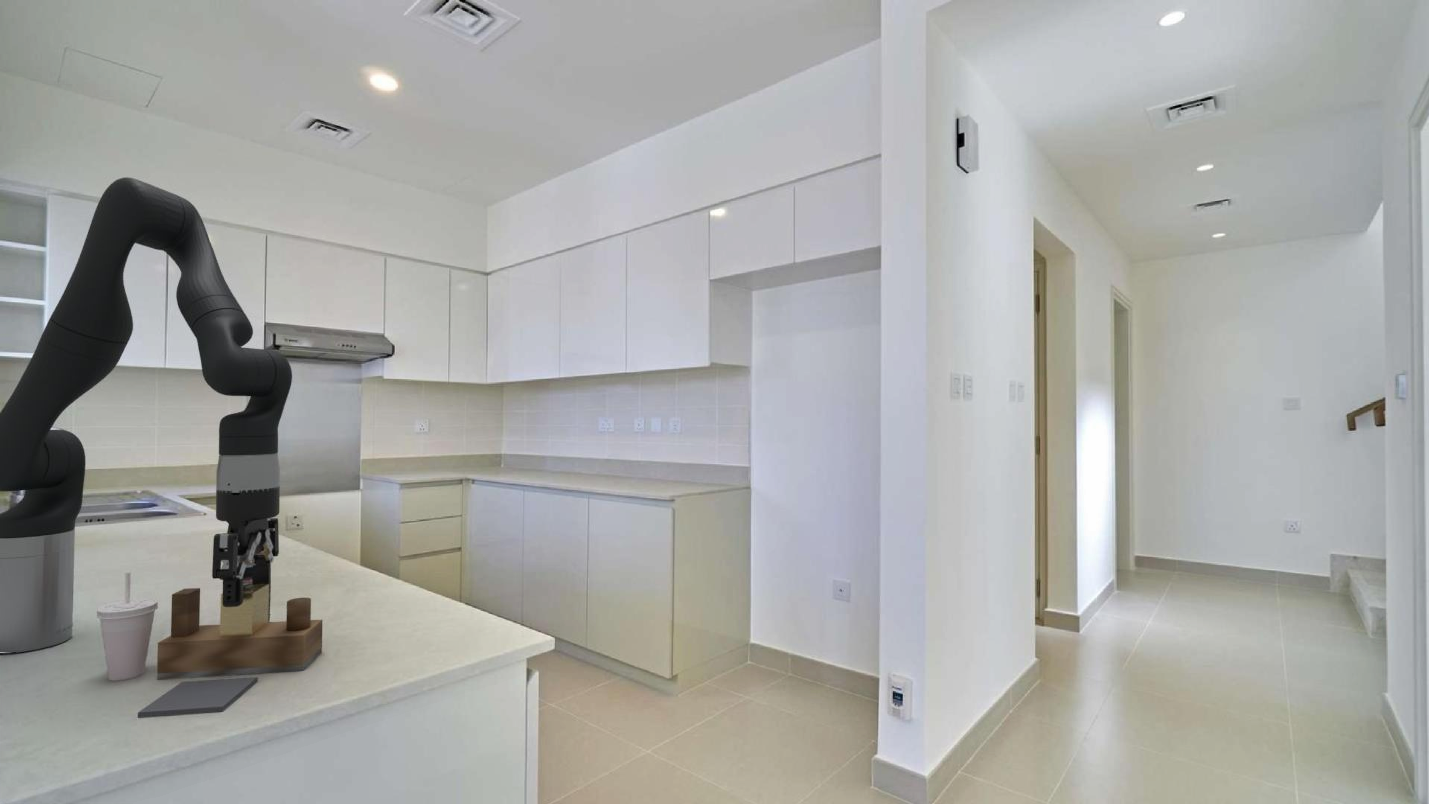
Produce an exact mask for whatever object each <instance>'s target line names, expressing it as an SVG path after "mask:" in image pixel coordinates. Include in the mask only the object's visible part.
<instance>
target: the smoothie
mask: <svg viewBox="0 0 1429 804" xmlns="http://www.w3.org/2000/svg"><path fill="white" fill-rule="evenodd" d="M124 574H125V577H124V578H125V580H124V600H120V601H115V602H111V603H108V604H104V605H102V606H100V607H99V608H97V611H96V618H97V619H99V621H100V630H101V636H102V643H103V650H104V656H105V664H106V672H107V679H108V680H109V681H123V680H129V679H134V678H136V677H139V676H141V675H144V673H145V669H146V663H147V659H148V658H147V656H148V652H149V646H150V641H151V635H152V630H153V622H154V618H155V611H157V610H158V609H159V605H158V603H159V602H158V600H157V599H153V598H134V599H131V581H132V580H131V577H132V576H131V572H125V573H124Z"/></svg>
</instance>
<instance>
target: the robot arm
mask: <svg viewBox="0 0 1429 804" xmlns="http://www.w3.org/2000/svg"><path fill="white" fill-rule="evenodd" d="M136 244H137V245H140V246H143V247H147V248H150V249H154V250H158V251H162V252H164V253H166V255H168V256H169V257H170V259H172V261H173V262H174V263H175V264H176V266H177V268H178V269H179V270H180V278H179V280H178V283H177V287H176V291H175V292H176V293H175V298H176V303H177V307H178V309H179V312H180V314H181V316H182V317H183V319H184V321H185V322H186V324H187V326H188V327H189V329H190V331H191V332H192V334H193V336H194V337H195V339H196V342H197V347H198V354H199V359H200V365H201V372H202V376H203V379H204V381H205V383H206V384H207V386H209V387H210V388H211V389H212V390H213V391H214V392H216V393H218V394H220V395H223V396H228V397H249V400H248V402H247V405H246V406H245V408H244V410H241V411H238V412H234V413H231V414H227V415H224V416H223V417H222V418H221V419H220V421H219V427H218V461H217V466H216V478H215V480H216V487H215V518H216V519H217V520H218V521H219V522H226V523H227V524H228V525H227V531H226V532H225V533H215V534H214V536H213V542H212V543H213V544H212V569H211V570H212V571H211V572H212V573H211V578H212V579H214V580H215V579H219V580H220V581H222V593H223V606H224V607H237V606H239V605H241V604H242V603H243V578H242V577H243V574H244V571H245V568H246V565H248V564H250V563H251V562H252V563H253V564H256V565H253V566H252V584H269V588H270V586H271V587H272V584H271V582H272V581H271V580H272V578H271V576H272V575H271V573H272V569H271V568H272V567H271V566H272V564H273V562H274V560H275V557H278V556H279V554H280V547H279V545H280V543H279V541H280V540H279V519H278V518H277V516H279V514H280V500H281V499H280V494H281V492H280V491H281V489H280V486H281V484H280V482H281V479H280V478H281V475H280V474H281V472H280V471H281V469H280V468H281V467H280V461H279V454H278V452H279V425H280V421H281V418H282V416H283V413H284V410H285V406H286V403H287V401H288V400H287V399H288V396H289V393H290V390H291V387H292V382H293V370H292V367H291V365H290V362H289V361H288V358H287V357H286V356H285V355H284V354H283V353H281V352H279V351H277V350H273V349H265V348H263V349H262V348H261V349H260V348H254V347H253V348H252V347H243V346H245V345H247V344H248V343H249V342H250V341H251V339H252V338H253V334H254V328H253V326H252V323H251V321H250V320H249V318H248V316H247V315H246V313H245V311H244V310H243V308H242V306H241V304H240V303H239V302H238V300H237V298H236V297H235V295H234V294H233V292H232V290H231V289H230V286H229V285H228V283H227V281H226V279H225V277H224V275H223V272H222V271H221V268H220V265H219V262H218V259H217V257H216V253H215V250H214V248H213V246H212V242H211V240H210V237H209V234H208V231H207V228H206V227H205V224H204V221H203V219H202V217H201V214H200V213H199V211H198V209H197V208H196V207H195V205H194V204H192V202H191V201H189V200H188V199H186V198H184V197H182V196H180V195H178V194H175V193H173V192H170V191H167V190H165V189H163V188H160V187H158V186H155V185H152V184H150V183H147V182H144V181H143V180H139V179H137V178H133V177H121V178H117V179H115V180H114V181H113V182H112V183H111V184H109V185H108V186H107V188H106V189H105V190H104V192H103V193H102V195H101V197H100V200H98V203H97V205H96V208H95V211H94V213H93V216H92V220H91V221H90V224H89V227H88V231H87V234H86V238H85V240H84V243H83V246H82V248H81V252H80V254H79V257H78V259H77V262H76V264H75V267H74V270H73V272H72V274H71V276H70V278H69V280H68V282H67V284H66V286H65V289H64V291H63V293H62V295H61V296H60V299H59V300H58V303H57V304H56V306H55V308H54V310H53V312H52V313H51V315H50V318H49V319H48V321H47V323H46V326H45V328H44V329H43V332H42V334H41V335H40V338H39V340H38V342H37V345H36V348H35V350H34V352H33V354H32V356H31V358H30V360H29V363H28V364H27V366H26V368H25V369H24V371H23V374H22V375H21V377H20V379H19V381H18V383H17V385H16V386H15V388H14V389H13V392H12V393H11V395H10V397H9V399H8V400H7V401H6V403H5V404H4V406H3V407H2V409H1V410H0V492H17V491H18V492H19V491H24V495H23V497H22V498H21V500H19V502H17V503H16V505H14V506H13V507H11V508H9V509H8V510H5V511H4V512H1V513H0V652H16V653H21V652H30V651H34V650H40V649H43V648H45V649H46V648H47V647H53V646H56V645H58V644H61V643H63V642H67V641H68V640H70V639H71V638H72V637H73V626H74V625H73V624H74V623H73V613H74V587H75V586H74V581H75V575H74V574H75V539H76V537H75V535H76V533H75V532H76V519H78V518H77V517H78V516H79V515H80V512H81V510H82V509H81V508H82V505H83V496H84V486H85V476H86V452H85V448H84V445H83V443H82V442H81V440H80V438H79V437H78V436H77V435H76V434H74V433H73V432H70V431H68V430H66V429H65V430H64V429H57V428H56V429H52V428H53V426H54V424H55V422H56V421H57V419H58V418H59V417H60V416H61V414H63V412H64V411H65V410H66V409H67V408H68V407H70V405H71V404H73V403H74V402H76V401H77V400H78V399H80V397H82V396H83V395H85V394H86V393H88V392H89V391H90V390H91V389H93V388H94V387H96V386H97V385H98V384H99V383H100V382H101V381H103V380H104V379H105V378H106V377H108V375H109V374H111V373H112V371H114V369H115V368H116V367H117V364H118V363H119V362H120V359H121V358H122V356H123V353H124V352H125V349H126V347H127V345H128V343H129V341H130V339H131V338H132V334H133V331H134V320H133V314H132V311H131V305H130V303H129V299H128V296H127V292H126V288H125V282H124V272H125V268H126V264H127V261H128V258H129V255H130V254H131V253H130V252H131V250H132V249H133V247H134V245H136ZM238 564H239V565H238ZM237 565H238V568H237Z"/></svg>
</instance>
